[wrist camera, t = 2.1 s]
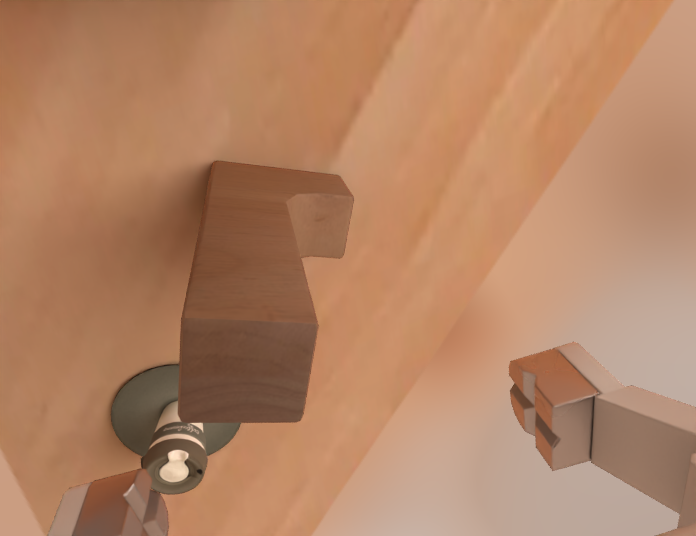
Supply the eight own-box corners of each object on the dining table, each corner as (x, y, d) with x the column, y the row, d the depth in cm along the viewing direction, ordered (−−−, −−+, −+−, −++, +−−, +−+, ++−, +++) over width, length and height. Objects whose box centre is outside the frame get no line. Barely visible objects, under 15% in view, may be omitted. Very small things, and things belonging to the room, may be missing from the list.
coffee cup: (87, 487, 32) (63, 561, 28) (67, 330, 27) (33, 389, 23) (274, 475, 35) (279, 540, 30) (287, 330, 30) (296, 383, 25)
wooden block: (209, 221, 26) (176, 426, 13) (212, 158, 24) (180, 316, 11) (331, 232, 27) (416, 425, 14) (341, 174, 26) (444, 328, 13)
